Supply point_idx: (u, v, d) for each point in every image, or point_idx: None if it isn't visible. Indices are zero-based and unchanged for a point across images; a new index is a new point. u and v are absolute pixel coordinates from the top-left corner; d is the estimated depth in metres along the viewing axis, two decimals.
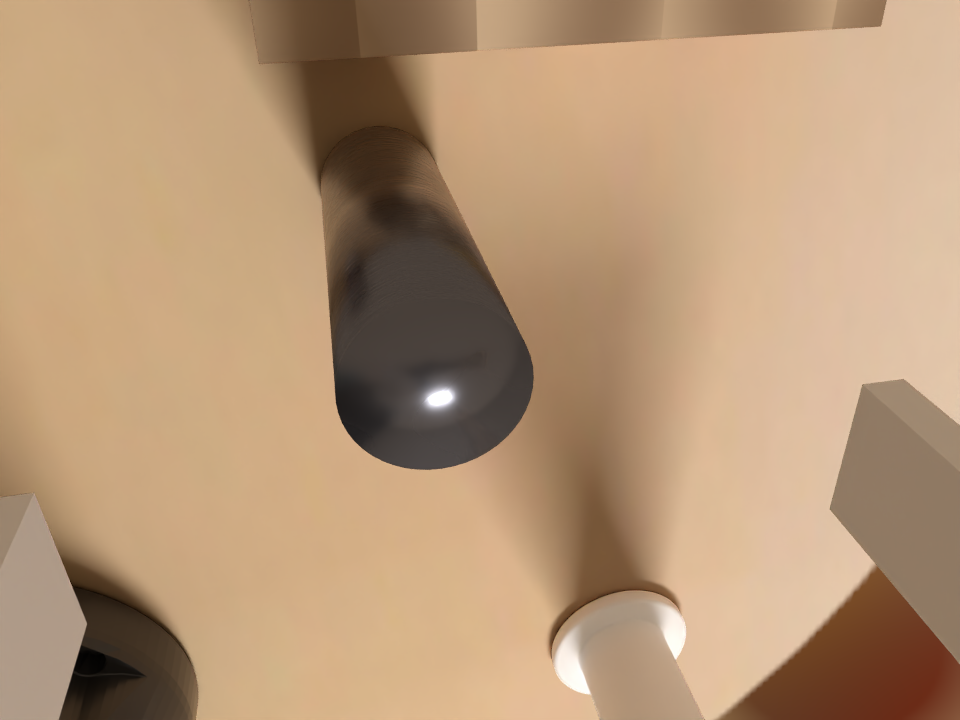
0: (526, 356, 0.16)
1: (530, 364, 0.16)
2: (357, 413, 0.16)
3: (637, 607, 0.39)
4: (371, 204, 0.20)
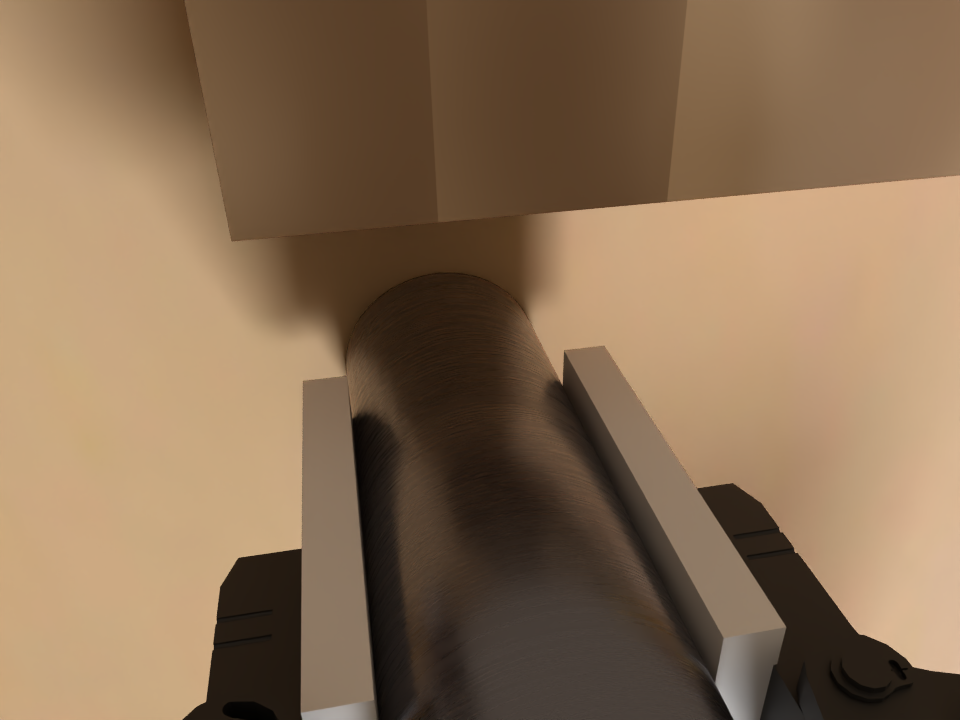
0: None
1: None
2: None
3: None
4: (464, 525, 0.10)
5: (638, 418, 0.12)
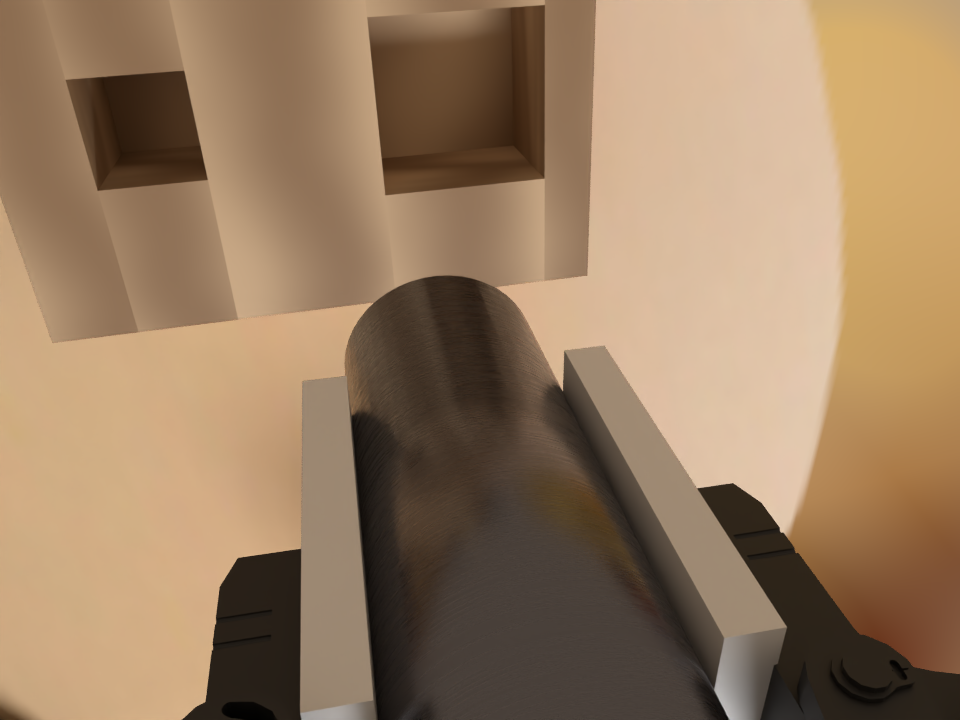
0: None
1: None
2: None
3: None
4: (461, 528, 0.10)
5: (638, 418, 0.12)
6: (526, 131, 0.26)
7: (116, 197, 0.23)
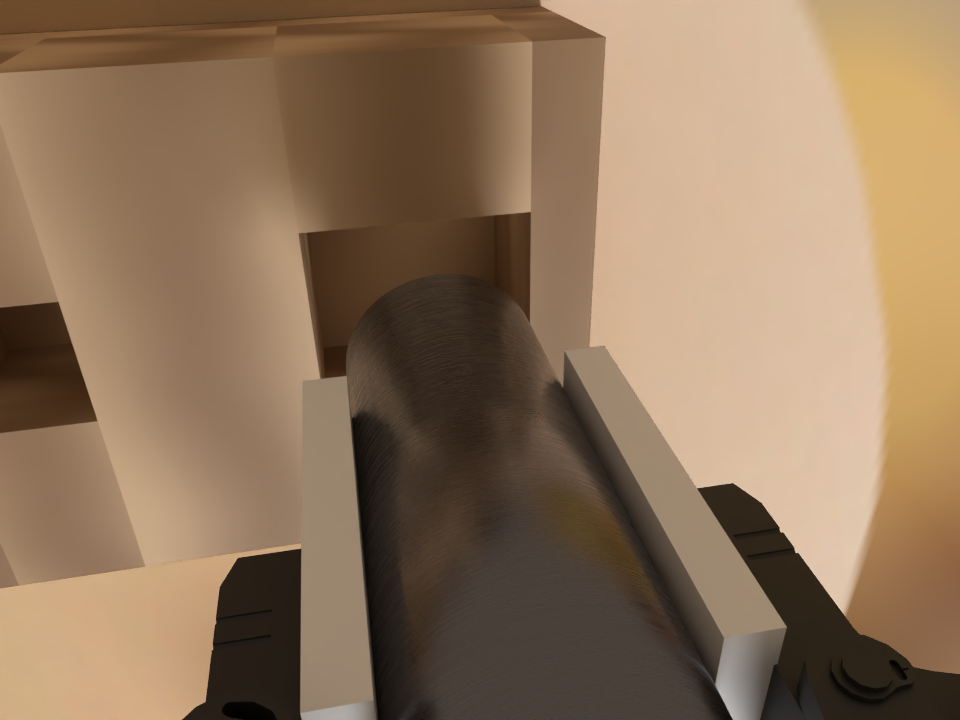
0: None
1: None
2: None
3: None
4: (464, 527, 0.10)
5: (638, 418, 0.12)
6: None
7: None
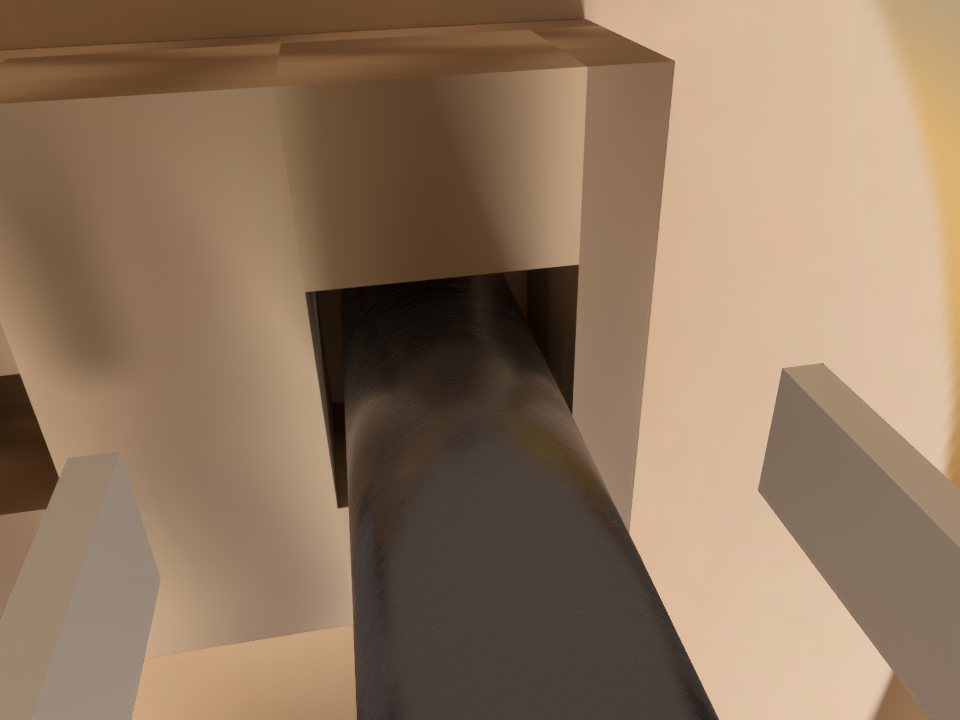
0: None
1: None
2: None
3: None
4: (424, 400, 0.12)
5: (895, 443, 0.12)
6: None
7: None
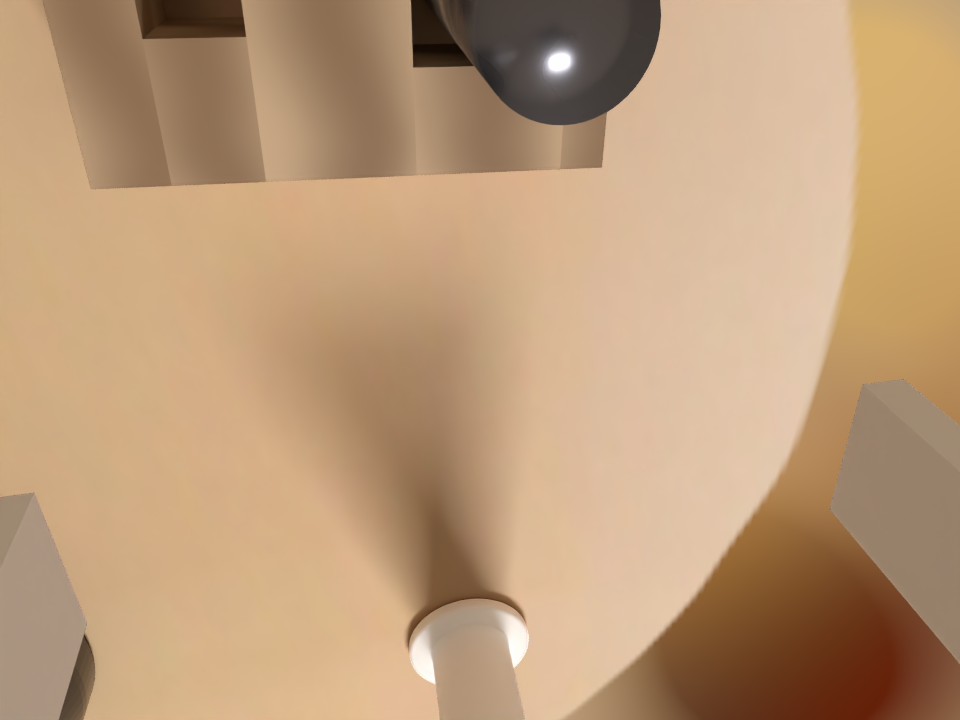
0: (656, 0, 0.17)
1: (659, 10, 0.17)
2: (493, 47, 0.17)
3: (480, 613, 0.45)
4: None
5: None
6: None
7: (159, 47, 0.24)
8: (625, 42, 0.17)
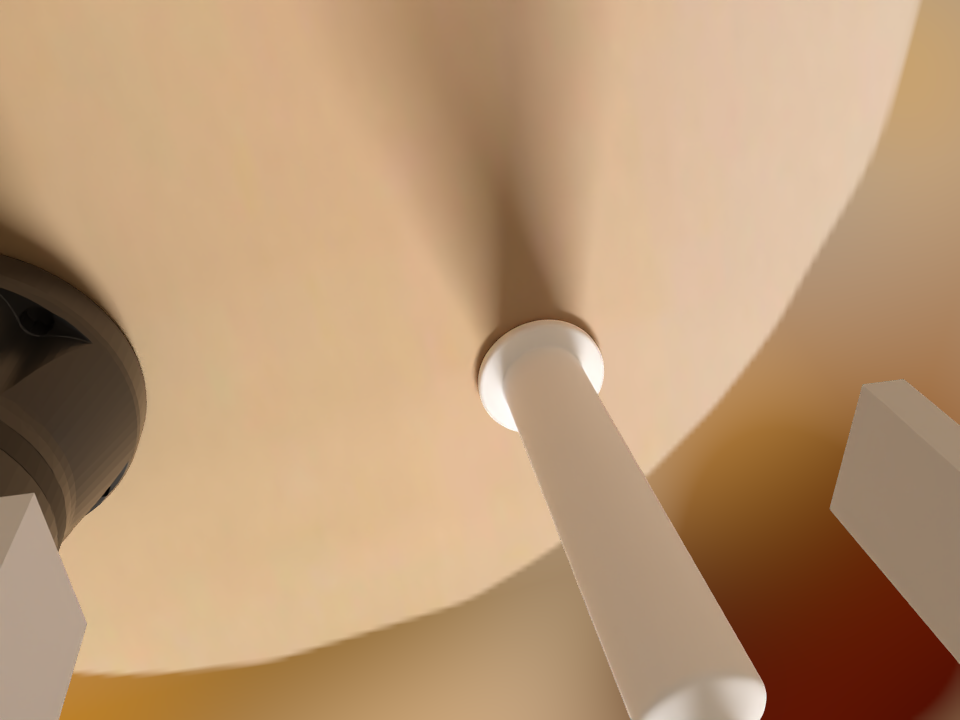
0: None
1: None
2: None
3: (555, 333, 0.42)
4: None
5: None
6: None
7: None
8: None
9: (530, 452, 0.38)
